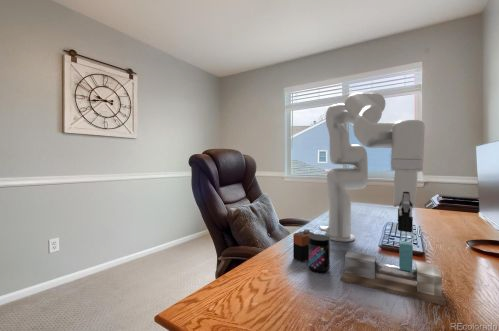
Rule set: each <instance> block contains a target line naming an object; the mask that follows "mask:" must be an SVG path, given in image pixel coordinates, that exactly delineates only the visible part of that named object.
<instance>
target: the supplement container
mask: <svg viewBox="0 0 499 331" xmlns="http://www.w3.org/2000/svg"><path fill="white" fill-rule="evenodd" d="M330 259H331V240H330V237H328V236H326V235H325V234H322V233H314V234H312V235H309V236H308V260H307V265H308V266H307V267H308V269H309V271H311V272H312V273H315V274H326V273H328V272H329V271H330V267H331V266H330V264H331V261H330Z"/></svg>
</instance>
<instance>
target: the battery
mask: <svg viewBox="0 0 499 331" xmlns="http://www.w3.org/2000/svg"><path fill="white" fill-rule="evenodd" d="M312 234H315V233H314V232H311V230H310V229H307V228H305V229H303V230H302V231H301V230H300V231H298V232H295V233H293V235H292V236H293V238H292V239H293V245H292V246H293V250H292V252H293V255H292V256H293V259H294V260H296V261H298V262H301V263H303V262H308V236H309V235H312Z"/></svg>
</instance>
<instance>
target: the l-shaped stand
mask: <svg viewBox="0 0 499 331" xmlns="http://www.w3.org/2000/svg"><path fill="white" fill-rule="evenodd" d="M398 245H399V253H398V255H399V256H398V257H399V259H398V260H399V261H398V266H397V265H392V264H387V263H382V262H377V261H376V262H375V273H378V274H383V275H387V276H392V277H397V278H401V279H406V280H411V281H416V282H417V270H416V269H414V268H413V259H414V258H413V254H414V252H413V249H414V248H413V246H414V245H413V242H411V241H405V240H399V243H398Z"/></svg>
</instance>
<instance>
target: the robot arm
mask: <svg viewBox="0 0 499 331" xmlns="http://www.w3.org/2000/svg"><path fill="white" fill-rule="evenodd" d="M385 108H386V100H385V97H384V96H383V94H381V93H378V92H377V93H376V92H354V93H351V94H350V95H348V96H347V97H346V98H345V99H344V103H337V104H336V103H335V104H332V105H330V106H329V107H328V109H327V110H326V114H325V125H326V128H327V131H328V135H329V160H330V163H331V164H332V165H334V166H335V165H336V166H352V167H353V168H351V167H350V168H349V167H348V168H347V167H345V168H344V167H342V168H341V167H336V168H332V169H330V170H329V171H328V172H327V174H326V184H327V188H328V191H327V192H328V226H327V225H326V226H324V225H320V226H319V228H318V229H319V231H320V232H325V233H324V235H326V236H328V237H330V241H336V242H342V243H344V242H348V243H349V242H352V241H354V240H355V235H354V234H352V199H351V196H350V195H349V193H348V192H347V190H362V189H365V188H366V186H367V185H368V183H369V181H368V180H369V172H368V171H369V170H368V169H369V168H368V164H369V163H368V162H369V161H368V152H367V149H366V148H371V149H374V148H375V149H391V151H390V152H391V154H390V155H391V156H390V171H393V172H394V178H393V204H392V205H393V207H394V208H396V207H397V206H398V209H397V230H398V231H399V232H404V233H412V232H413V220H414V218H413V209H415V207H416V201H417V191H418V190H417V188H418V173H419V172H421V173H423V171H424V155H425V154H424V153H425V152H424V151H425V131H426V130H425V126H426V125H425V123H424V121H423V120H419V119H405V120H398V121H395V122H394V123H393V122H390V123H389V122H380V120H381V119H382V115H383V112H384V110H385ZM346 124H347V125H349V124H350V125H353V126H352V127H353V135H354V137H355V138H356V139H357V141H358V142H359V143H360V144H350V134H349V131H348V129H347V128H346V127H345V126H344V125H346ZM365 147H366V148H365Z"/></svg>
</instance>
